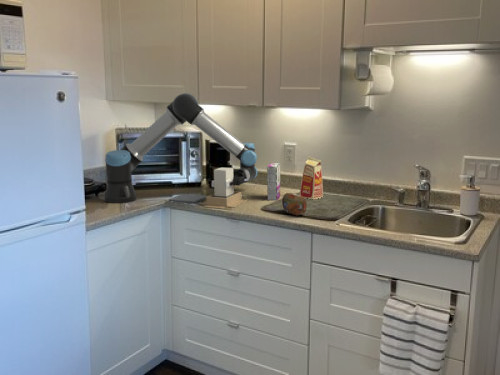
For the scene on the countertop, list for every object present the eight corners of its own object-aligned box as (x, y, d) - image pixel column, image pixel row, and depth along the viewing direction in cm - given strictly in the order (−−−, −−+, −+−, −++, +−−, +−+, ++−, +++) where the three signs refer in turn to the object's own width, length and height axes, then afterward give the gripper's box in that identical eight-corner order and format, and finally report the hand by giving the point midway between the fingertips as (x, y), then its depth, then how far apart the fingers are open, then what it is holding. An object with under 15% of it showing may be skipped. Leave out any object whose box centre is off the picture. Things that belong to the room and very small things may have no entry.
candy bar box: (270, 195, 256) (270, 162, 253) (280, 195, 255) (280, 163, 252) (266, 200, 245) (266, 166, 242) (277, 200, 244) (277, 166, 241)
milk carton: (299, 197, 250) (299, 157, 246) (309, 194, 257) (310, 155, 253) (314, 200, 244) (315, 158, 241) (325, 197, 251) (326, 156, 248)
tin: (281, 210, 225) (281, 191, 223) (287, 209, 226) (287, 190, 225) (301, 217, 212) (301, 197, 210) (307, 216, 214) (308, 196, 212)
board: (168, 201, 244) (168, 199, 244) (183, 195, 257) (183, 193, 257) (194, 203, 239) (194, 201, 239) (208, 197, 252) (208, 195, 251)
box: (214, 204, 238) (213, 169, 235) (222, 200, 245) (221, 167, 242) (226, 205, 236) (225, 170, 233) (233, 201, 243) (233, 168, 240)
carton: (196, 206, 234) (195, 197, 233) (218, 196, 254) (218, 188, 254) (230, 209, 227) (230, 200, 226) (250, 199, 248) (250, 191, 247)
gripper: (257, 185, 252) (238, 194, 231) (222, 182, 260) (200, 191, 239) (257, 170, 251) (237, 177, 230) (222, 168, 258) (200, 175, 237)
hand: (219, 184), depth 234 cm, fingers closed on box, 6 cm apart
